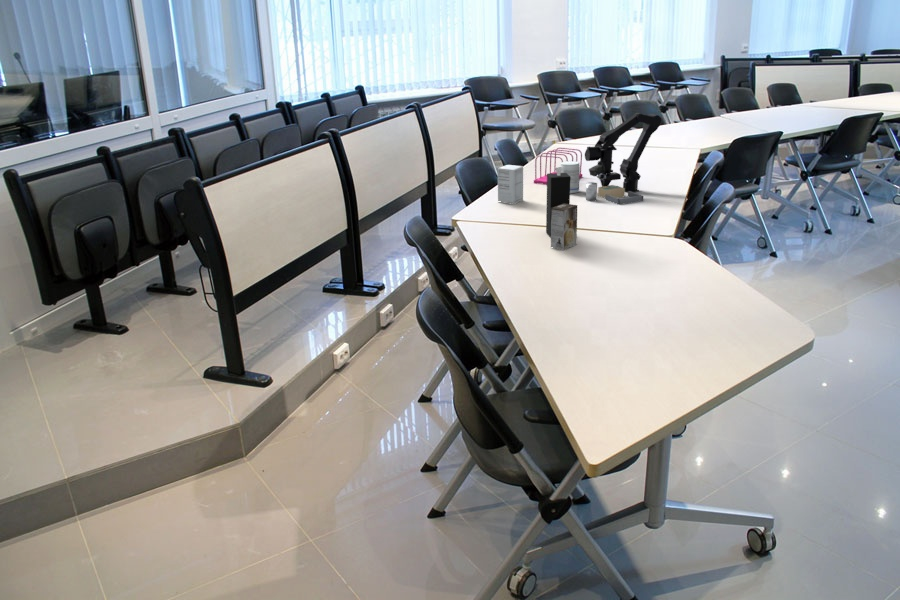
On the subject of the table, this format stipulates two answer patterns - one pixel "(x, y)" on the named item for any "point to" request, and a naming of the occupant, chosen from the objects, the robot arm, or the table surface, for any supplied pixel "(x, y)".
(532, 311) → the table surface
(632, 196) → the gray u-shaped frame
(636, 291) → the table surface
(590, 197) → the grey rounded block
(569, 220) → the coffee box
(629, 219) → the table surface
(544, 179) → the file sorter
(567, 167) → the supplement tub
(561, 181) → the tall black pillar
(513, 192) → the supplement box
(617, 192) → the carton
